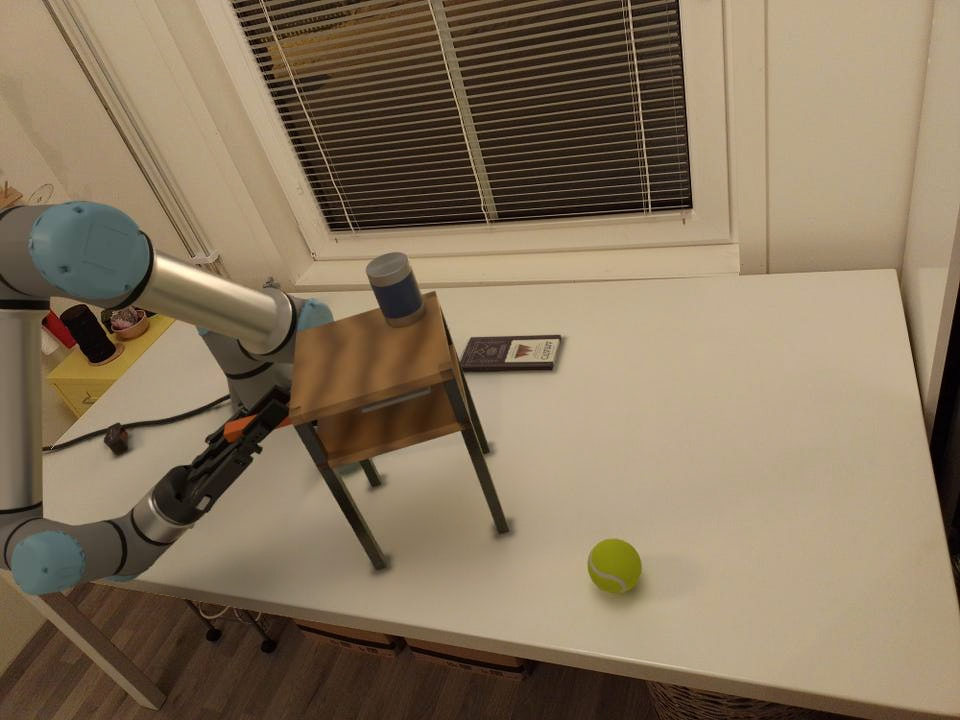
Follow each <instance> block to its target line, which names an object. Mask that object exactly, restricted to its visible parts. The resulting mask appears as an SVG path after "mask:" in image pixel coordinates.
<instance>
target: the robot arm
mask: <svg viewBox="0 0 960 720" xmlns="http://www.w3.org/2000/svg"><path fill="white" fill-rule="evenodd" d="M282 291H283V290H282ZM282 291H280V290H277V289H274V288H263V287H262V288H260V289H258V290H257V289H254V288H252V287H249V286H248V285H246V284H242V283H240V282H238V281H234V280H232V279H230V278H228V277H225V276H224V275H221V274H219V273H216V272H213V271H212V270H208V269H206V268H204V267H201V266H199V265H196V264H194V263H191V262H190V261H187V260H184V259H182V258H179V257H177V256H175V255H172V254H170V253H168V252H165V251H162V250H160V249H158V248H156V247H155V244H154V242H153V239H152V238H151V236H150V235H149V234H148V233H146V232H145V231H143V230H141V229H140V225H139V224H138V223H137V222H136V221H135V220H134V219H133V218H132V217H131V216H130V215H128V214H127V213H126V212H125V211H123V210H121V209H119V208H118V207H115V206H113V205H109V204H105V203H102V202H101V203H100V202H95V201H90V200H89V201H88V200H72V201H65V202H61V203H53V204H33V205H27V204H26V205H23V204H22V205H13V206H8V207H4V208H2V209H0V569H1V570H4V571H9V572H11V574H12V578H13V581H14V582H15V584H16V585H17V586H19V587H20V589H21V591H22V592H23V593H24V594H27V595H30V596H42V595H47V594H51V593H52V594H53V593H60V592H63V591H66V590H67V591H68V589H70V588H75V587H77V586H81V585H84V584H87V583H91V582H93V581H98V580H100V579H101V580H102V579H107V580H109V581H113V582H119V583H128V582H131V581H133V580H134V579H136V578H138V577H140V576H141V575H142V574H143V573H145V572H146V571H148V570H149V569H150V568H151V567H153V565H154V564H156V562H157V560H158V559H160V557H162V556H163V555H164V554H165V553H166V552H167V551H168V550H169V549H170V548H171V547H172V546H173V545H174V544H175V543H176V542H177V541H178V540H179V539H180V538H181V537H182V536H183V535H185V533H186V532H187V531H188V530H192V529H193V528H195V524H196V522H198V521H199V520H200V519H201V518H203V516H205V515H206V514H208V513H209V512H211V510H212V508H213V507H214V506H215V504H216V502H217V501H218V500H219V499H220V498H221V497H222V496H223V494H225V492H226V491H227V490H228V489H229V488H230V487H231V486H232V485H233V484H234V483H235V481H237V479H238V478H239V477H240V476H241V475H243V473H244V472H245V471H246V469H247V468H248V467H250V465H251V464H252V463H253V461H254V457H253V456H252V455H253V454H254V453H255V454H256V455H261V453H262V452H263V450H264V447H263V446H261V445H259V444H261V442H262V441H264V440H265V439H266V438H267V437H268V436H269V435H270V434H271V433H272V432H274V431H275V430H276V429H275V428H276V427H277V426H278V425H279V424H280V423H281V422H282V421H283V420H284V419H285V418H286V417H287V416H288V415H289V409H290V408H289V407H288V406H286V405H289V404H290V398H291V387H292V376H293V365H294V354H295V343H296V333H297V332H301V331H304V330H307V329H311V328H314V327H317V326H320V325H324V324H327V323H330V322H334V321H335V320H334V314H333V310H332V309H331V308H330V306H329V304H327V302H325V301H324V300H322V299H317V298H314V297H309V298H301V297H296V296H295V295H291V294H289V293H286V292H285V291H283V292H282ZM51 298H63V299H68V300H71V301H76V302H80V303H83V304H87V305H90V306H92V307H97V308H100V309H103V310H107V311H110V312H122V311H125V310H127V309H129V308H131V307H136V308H137V309H141V310H145V311H147V312H150V313H154V314H156V315H157V314H158V315H161V316H163V317H167V318H169V319H173V320H177V321H180V322H182V323H185V324H189V325H192V326H194V327H195V329H196V330H197V334H198V336H199V337H201V339H202V340H203V342H204V343H205V346H206V347H207V348H208V350H209V351H210V353H211V355H212V356H213V358H214V359H215V361H216V362H217V364H218V366H219V368H220V369H221V371H222V372H223V374H224V376H225V377H226V381H227V387H228V393H227V394H225V395H223V396H221V397H219V398H218V399H214V400H213V401H212V402H210V403H207V404H206V405H203V406H200V407H198V408H195V409H193V410H190V411H188V412H183V413H180V414H178V415H177V414H176V415H173V416H170V417H166V418H162V419H153V420H143V421H142V420H141V421H135V422H130V423H129V422H128V423H125V424H121V425H122V426H123V428H124V429H125V430H126V429H130V428H137V427H144V426H145V427H146V426H155V425H157V426H158V425H162V424H167V423H171V422H175V421H180V420H183V419H187V418H190V417H192V416H194V415H197V414H200V413H203V412H204V411H207V410H209V409H211V408H214V407H216V406H218V405H219V404H221V403H223V402H226V401H228V400H229V399H230V402H231V405H232V407H233V409H234V410H235V413H234V414H233V415H232V416H231V417H230V418H228V419H227V420H226V421H225V422H224V423H223V424H222V425H221V426H220V427H218V429H216V430H215V431H213V432H211V433H210V434H208V435H207V436H206V437H205V439H204V443H205V444H206V445H208V446H207V447H206V448H205V449H204V451H202V452H201V453H200V454H198V455H197V456H196V457H195V458H194V459H193V460H192V462H191V463H190V464H180V465H176V466H174V467H172V468H171V469H170V470H168V472H166V474H165V475H163V477H162V478H160V479H159V481H158V482H157V483H156V484H155V485H153V486H152V487H151V488H150V489H149V490H148V492H146V493H145V494H144V496H143V497H142V498H140V499H139V500H138V502H137V503H136V504H135V505H134V506H133V507H132V508H131V509H130V510H129V511H128V512H127V513H126V514H125V515H122V516H119V517H115V518H109V519H104V520H99V521H94V522H89V523H83V524H76V525H75V524H68V523H65V522H61V521H57V520H52V519H49V518H46V517H44V482H43V481H44V478H43V477H44V475H43V474H44V472H43V469H44V467H43V465H44V464H43V458H44V457H43V452H49V451H51V452H52V451H57V450H60V449H63V448H67V447H70V446H72V445H75V444H78V443H80V442H82V441H85V440H88V439H90V438H93V437H96V436H100V435H104V434H106V429H107V428H108V427H106V428H102V429H99V430H95V431H92V432H89V433H85V434H83V435H81V436H78V437H75V438H73V439H71V440H68V441H65V442H63V443H60V444H55V445H49V446H43V346H42V345H43V344H42V342H43V341H42V339H43V338H42V336H43V335H42V329H43V328H42V327H43V326H42V325H43V324H42V322H43V320H44V319H45V318H46V317H47V316H48V315H49V314H50V313H51ZM256 414H257V415H256ZM252 415H256V416H255V417H254V418H253V419H252V420H251V421H250V422H249V423H248V424H247V425H246V426H245V427H244V428H243V429H242V434H244V435H246V436H245V437H243V436H240V437H239V438H238V439H236V440H235V441H234V442H230V443H229V442H228V441H227V439H226V438H225V436H224V430H225V425H226V423H229V422H232V421H235V420H239V419H242V418H246V417H249V416H252ZM53 446H54V447H53ZM52 447H53V448H52ZM51 448H52V449H51Z"/></svg>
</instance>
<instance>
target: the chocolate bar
mask: <svg viewBox="0 0 960 720" xmlns="http://www.w3.org/2000/svg"><path fill="white" fill-rule="evenodd" d="M561 342H562V335H561V334H538V335H535V334H534V335H532V334H531V335H503V336H502V335H499V336H498V335H497V336H471V337H470V338H469V340H468V342H467V345H466V348H465V349H464V351H463V355H462V357H461V359H460V360H459V361H460V364H461V367H462V370H463V372H522V371H523V372H525V371H526V372H531V371H532V372H535V371H539V372H540V371H543V372H544V371H554V366H555V362H556V360H557V359H556V358H557V355H558V352H559V348H560V345H561Z"/></svg>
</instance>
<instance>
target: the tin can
mask: <svg viewBox="0 0 960 720" xmlns="http://www.w3.org/2000/svg"><path fill="white" fill-rule="evenodd" d="M365 273H366V276H367V279H368V283H369V284H370V288H371V289H372V291H373V294H374V297H375V299H376V302H377V304H378V308H380V309H381V312H382V314H383V316H384V318H385V320H386V323H387V324H388V325H389V326H391V327H397V328H399V327H406V326H409V325H412V324H414V323H416V322H417V321H419V320H420V319H421V318H422V317H423V316H424V315H425V313H426V306H425V304H424V301H423V297H422V295H423V294H422V292H421V289H420V286H419V284H418V280H417V278H416V275H415V274H416V273H415V272H414V269H413V266H412V265H411V261H410V259H409V257H408V254H406V253H405V252H401V251H392V252H388V253H384V254H381V255H379V256H377V257H375V258H373V259H372V260H370V262H368V264H367V265H366V267H365Z"/></svg>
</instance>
